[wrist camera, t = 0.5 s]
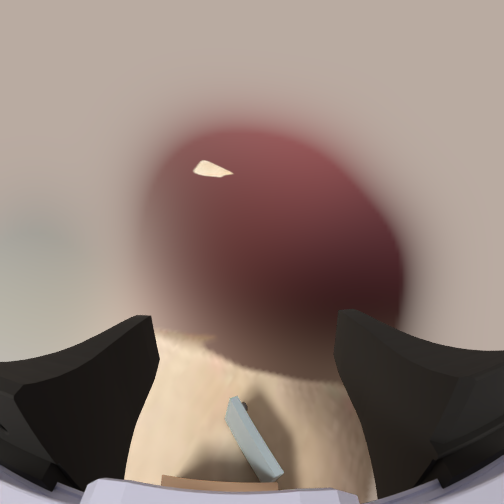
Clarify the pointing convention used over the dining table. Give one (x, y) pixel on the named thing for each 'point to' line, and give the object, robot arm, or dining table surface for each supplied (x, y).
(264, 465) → the door
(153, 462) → the dining table surface
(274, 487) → the cabinet
